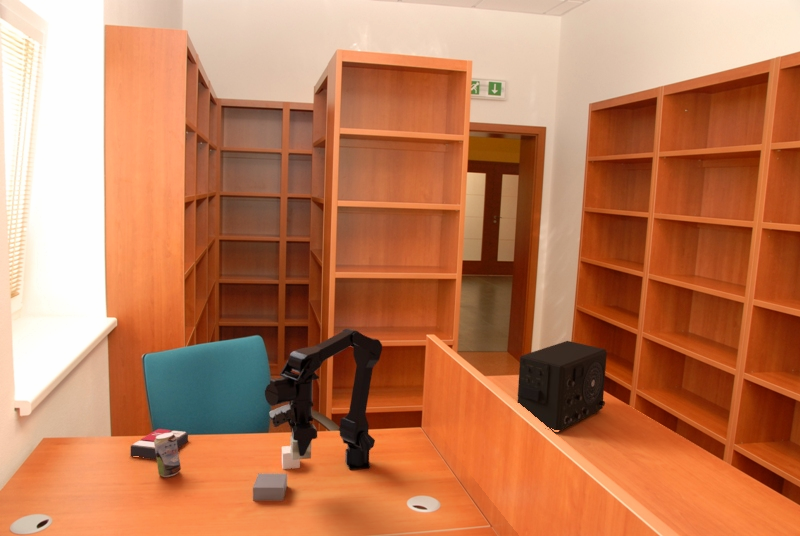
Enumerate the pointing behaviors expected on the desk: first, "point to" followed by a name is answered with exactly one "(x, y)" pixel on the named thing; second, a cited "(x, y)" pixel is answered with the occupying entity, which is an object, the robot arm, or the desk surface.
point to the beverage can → (167, 454)
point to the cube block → (295, 451)
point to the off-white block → (289, 459)
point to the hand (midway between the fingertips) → (300, 451)
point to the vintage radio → (562, 383)
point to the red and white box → (147, 443)
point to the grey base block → (270, 487)
